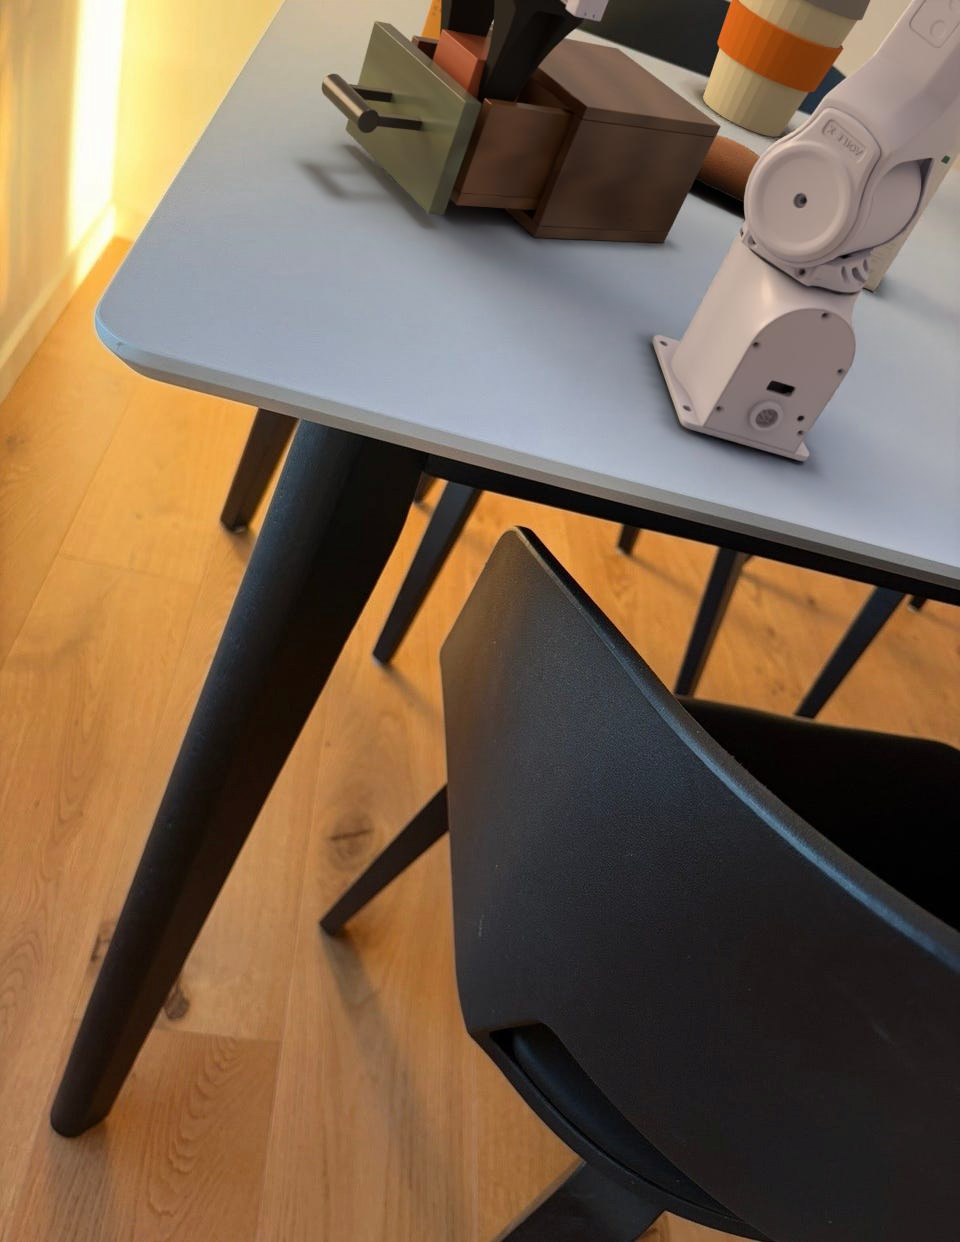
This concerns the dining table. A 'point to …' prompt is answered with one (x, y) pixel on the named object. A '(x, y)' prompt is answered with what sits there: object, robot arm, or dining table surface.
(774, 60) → the reusable coffee cup
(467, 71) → the block
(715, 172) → the sunglasses case
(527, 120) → the drawer
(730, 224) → the dining table surface
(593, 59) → the cabinet
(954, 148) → the syrup box
